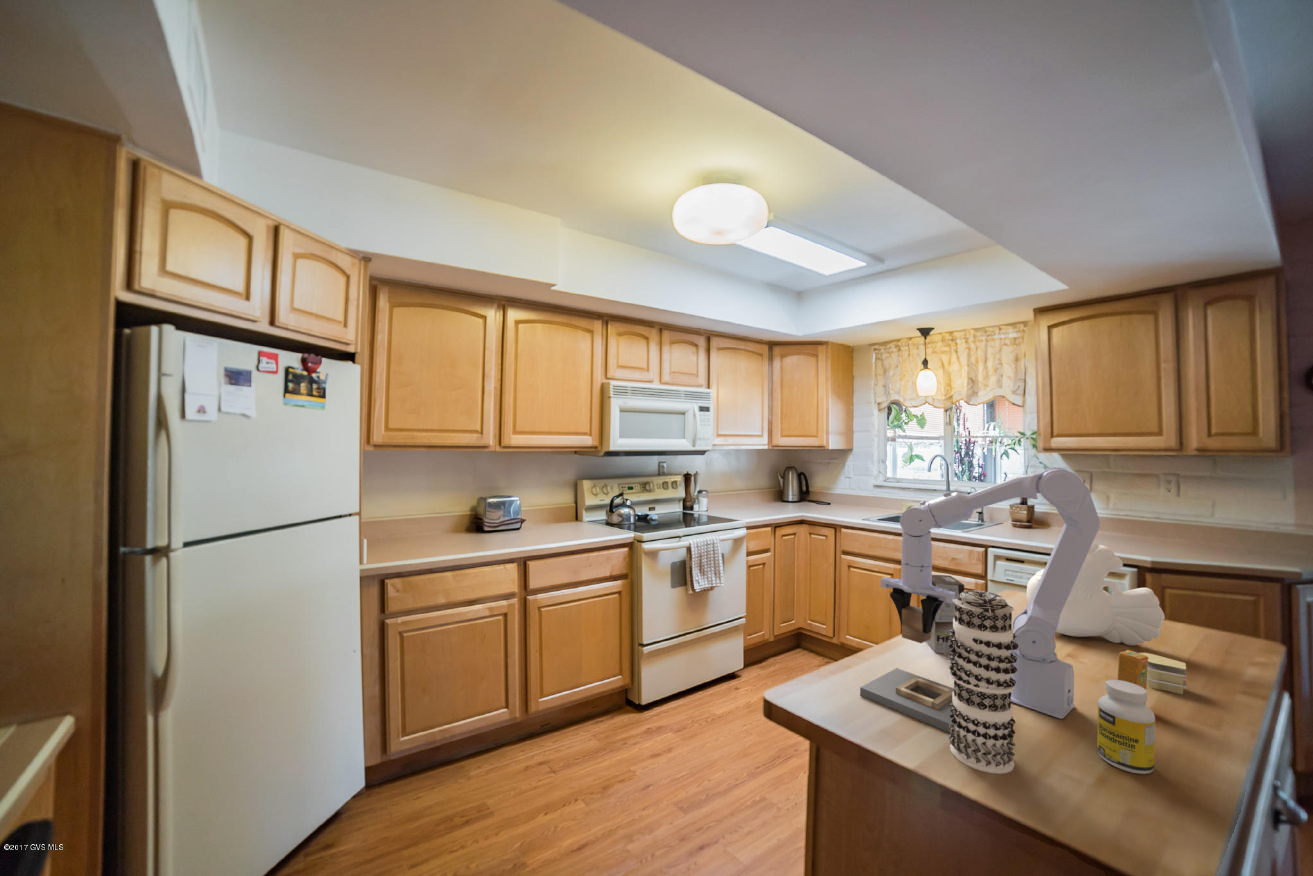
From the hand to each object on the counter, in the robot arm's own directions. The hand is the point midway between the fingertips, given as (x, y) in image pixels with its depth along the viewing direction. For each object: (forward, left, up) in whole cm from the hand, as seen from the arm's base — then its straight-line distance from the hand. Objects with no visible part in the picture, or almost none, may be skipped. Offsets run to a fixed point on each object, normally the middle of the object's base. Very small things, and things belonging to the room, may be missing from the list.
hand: (916, 628), depth 109 cm
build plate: (-7, +11, -9) cm, 16 cm away
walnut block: (0, 0, -2) cm, 2 cm away
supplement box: (-31, -18, -10) cm, 37 cm away
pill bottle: (-34, +5, -10) cm, 36 cm away
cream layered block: (-33, -35, -10) cm, 49 cm away
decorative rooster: (-17, -55, -10) cm, 58 cm away
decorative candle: (-20, +21, -10) cm, 31 cm away
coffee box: (+3, -20, -10) cm, 22 cm away
